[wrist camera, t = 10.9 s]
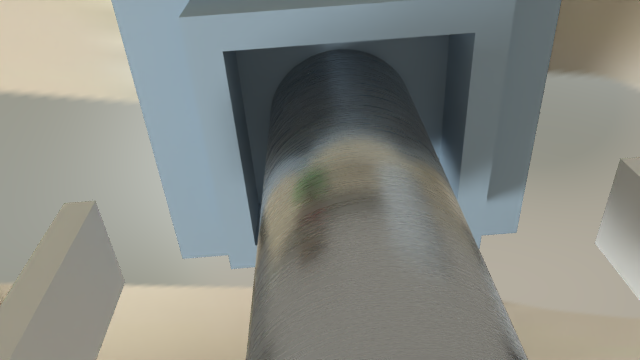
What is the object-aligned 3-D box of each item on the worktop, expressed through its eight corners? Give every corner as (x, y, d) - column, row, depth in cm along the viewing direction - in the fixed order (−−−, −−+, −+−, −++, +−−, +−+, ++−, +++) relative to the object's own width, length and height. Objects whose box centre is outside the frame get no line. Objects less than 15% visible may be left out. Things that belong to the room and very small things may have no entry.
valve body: (213, 284, 27) (196, 385, 22) (128, -71, 18) (64, -36, 13) (477, 264, 27) (520, 359, 22) (531, -100, 18) (625, -78, 13)
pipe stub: (277, 181, 20) (256, 538, 10) (262, 53, 17) (212, 368, 7) (408, 173, 20) (524, 521, 10) (415, 44, 17) (590, 344, 7)
